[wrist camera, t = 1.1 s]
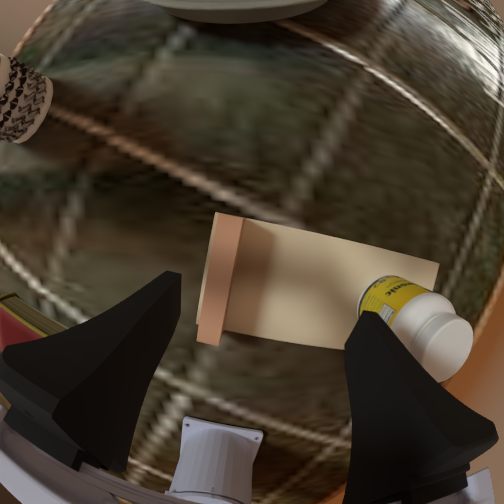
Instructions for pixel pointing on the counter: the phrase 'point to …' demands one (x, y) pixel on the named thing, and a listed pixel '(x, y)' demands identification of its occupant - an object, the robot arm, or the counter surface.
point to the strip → (291, 282)
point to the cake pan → (236, 9)
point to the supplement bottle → (420, 323)
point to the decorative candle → (22, 100)
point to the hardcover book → (23, 322)
